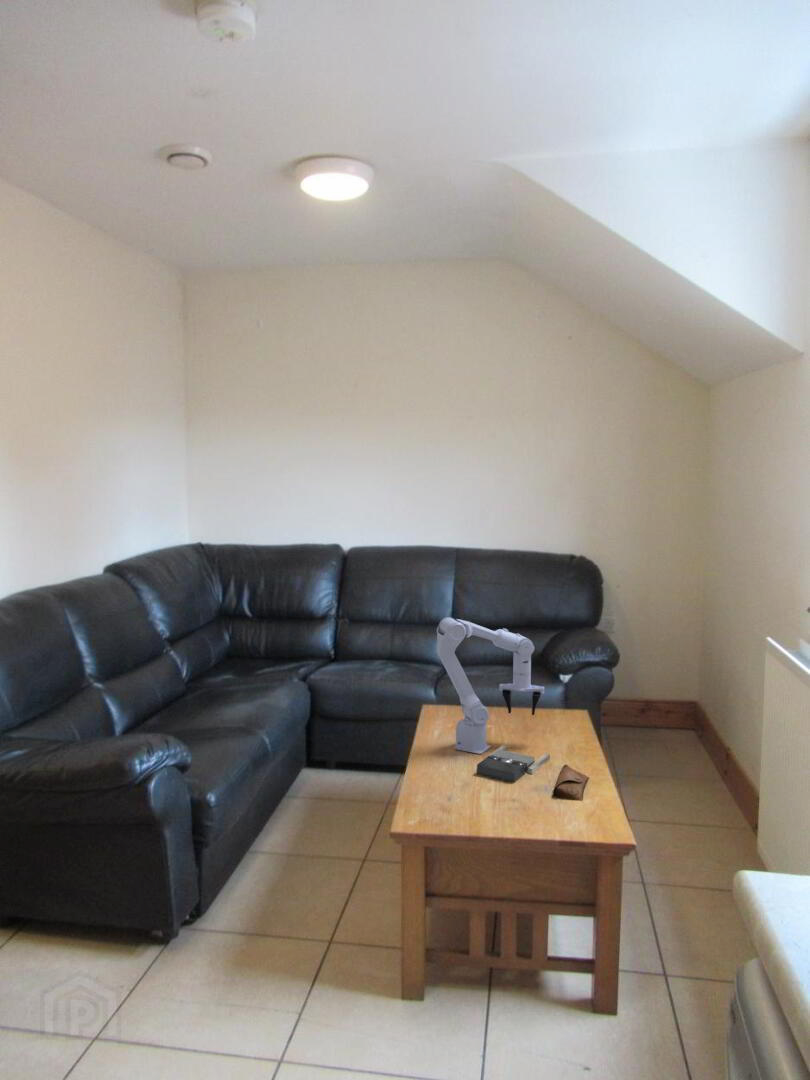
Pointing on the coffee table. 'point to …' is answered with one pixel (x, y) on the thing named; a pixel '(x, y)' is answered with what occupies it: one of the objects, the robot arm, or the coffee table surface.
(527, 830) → the coffee table surface
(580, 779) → the sunglasses case
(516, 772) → the fixed leaf
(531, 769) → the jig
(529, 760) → the grey piece
